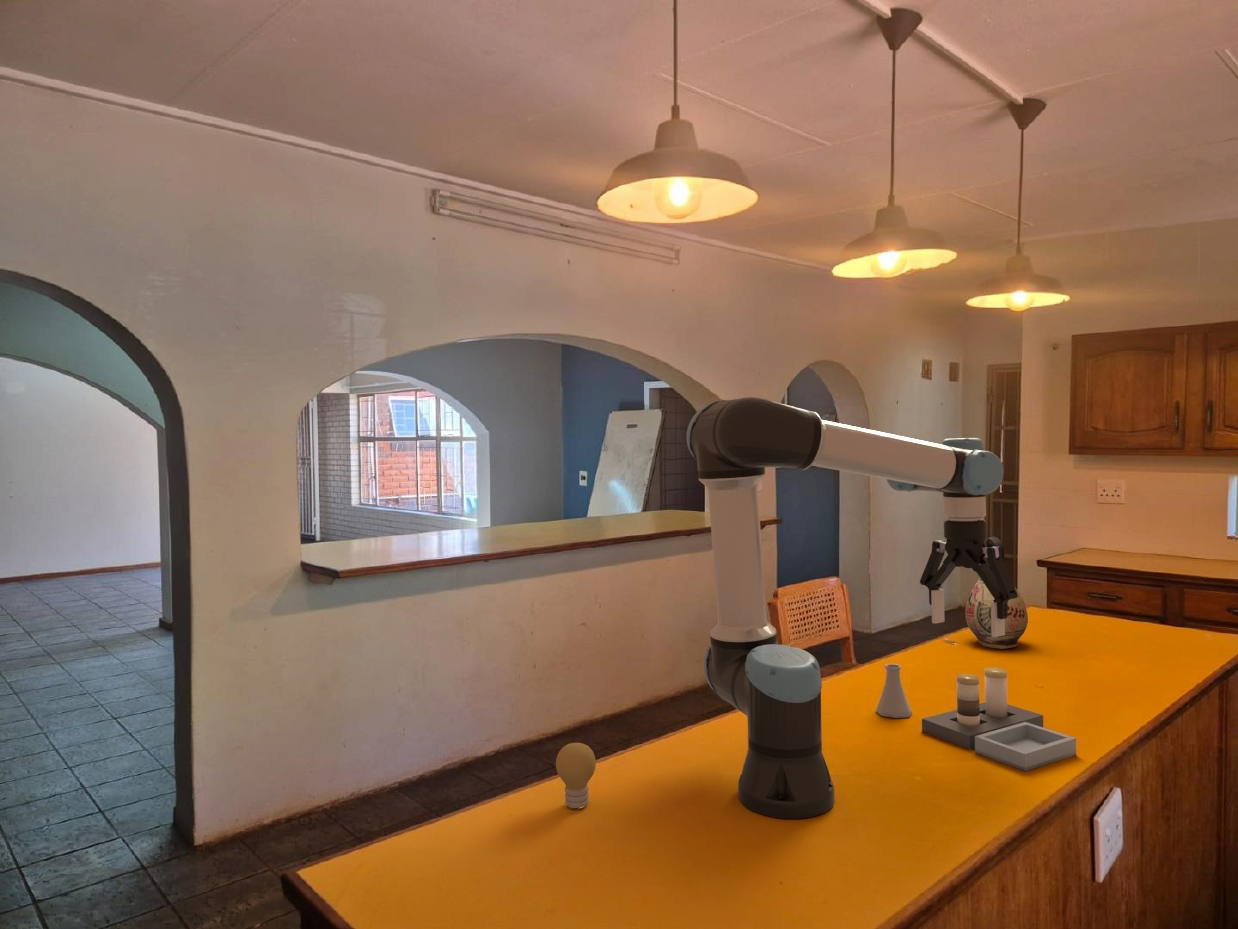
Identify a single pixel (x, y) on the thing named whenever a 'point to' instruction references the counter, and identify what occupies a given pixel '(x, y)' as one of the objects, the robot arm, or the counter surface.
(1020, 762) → the parts tray
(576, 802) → the light bulb
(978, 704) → the cylinder
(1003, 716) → the cylinder
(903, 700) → the flask
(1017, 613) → the ceramic jug
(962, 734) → the block
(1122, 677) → the counter surface
